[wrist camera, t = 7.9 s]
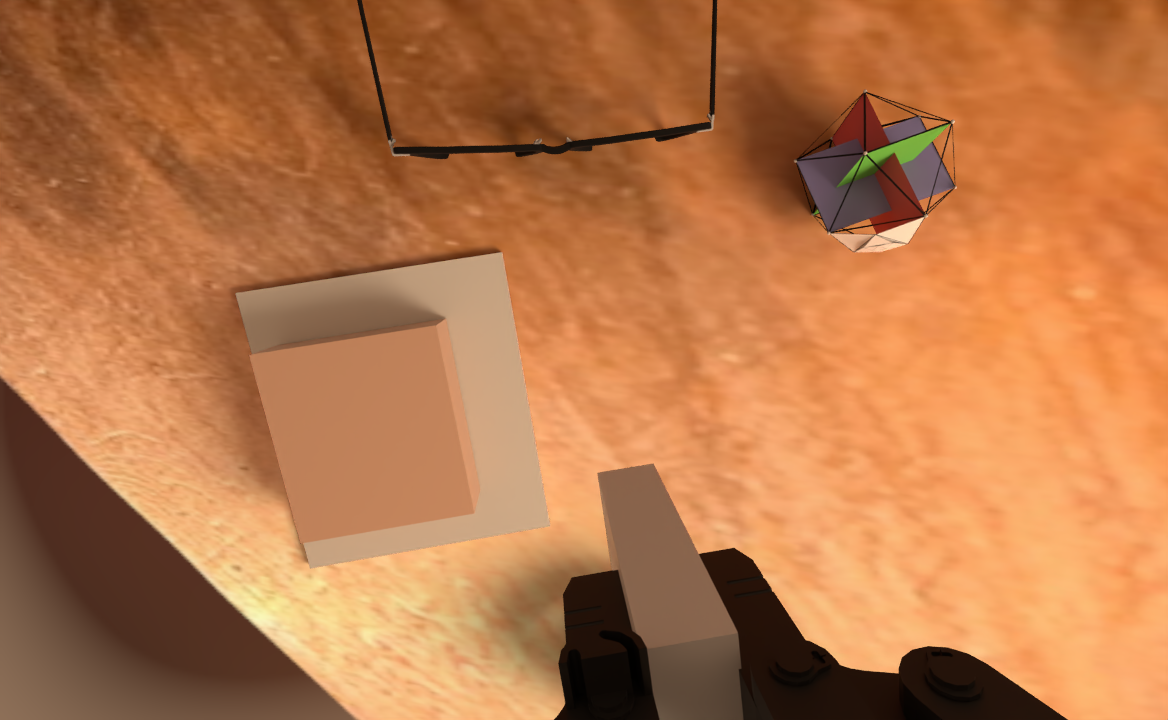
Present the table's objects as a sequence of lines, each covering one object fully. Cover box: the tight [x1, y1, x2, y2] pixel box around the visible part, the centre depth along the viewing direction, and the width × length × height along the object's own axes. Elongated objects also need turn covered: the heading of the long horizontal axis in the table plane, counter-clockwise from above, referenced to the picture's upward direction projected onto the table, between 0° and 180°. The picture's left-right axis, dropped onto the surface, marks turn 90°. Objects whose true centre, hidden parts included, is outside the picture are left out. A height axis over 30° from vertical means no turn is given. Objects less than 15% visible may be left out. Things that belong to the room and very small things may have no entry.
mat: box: [235, 252, 550, 568], centre depth 31 cm, size 16×14×1 cm
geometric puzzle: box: [794, 90, 957, 252], centre depth 28 cm, size 7×7×8 cm
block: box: [249, 318, 481, 544], centre depth 30 cm, size 10×3×9 cm
